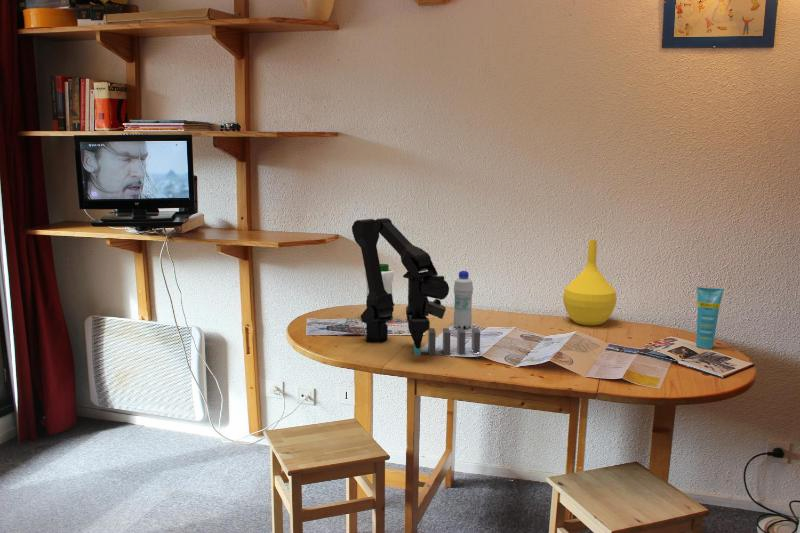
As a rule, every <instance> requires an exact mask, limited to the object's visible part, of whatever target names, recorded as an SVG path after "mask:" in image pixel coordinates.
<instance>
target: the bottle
mask: <svg viewBox="0 0 800 533" xmlns="http://www.w3.org/2000/svg"><path fill="white" fill-rule="evenodd" d="M469 275H470V274H469V271H467V270H461V271H459V272H458V278H455V280H454V284H453V294H454V304H453V305H454V312H453V325H454V327H455V328H456V329H457V328H463V329H464V328H465V329H466V330H467V329H469V328H471V327H472V323H473V320H472V319H473V315H472V307H473V306H472V303H473V302H472V300H473V299H472V298H473V294H474V292H473V291H474V286H473V279H470V278H469Z"/></svg>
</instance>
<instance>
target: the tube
mask: <svg viewBox="0 0 800 533" xmlns="http://www.w3.org/2000/svg"><path fill="white" fill-rule="evenodd" d="M696 293H697V318H696V319H697V320H696V344H695V346H696V347H698V348H700V349H705V350H706V349H707V350H709V349H714V342H715V336H716V330H717V325H718V318H719V312H720V307H721V302H722V298H723V293H724V288H719V287H718V288H716V287H714V288H713V287H702V286H697V287H696Z"/></svg>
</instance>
